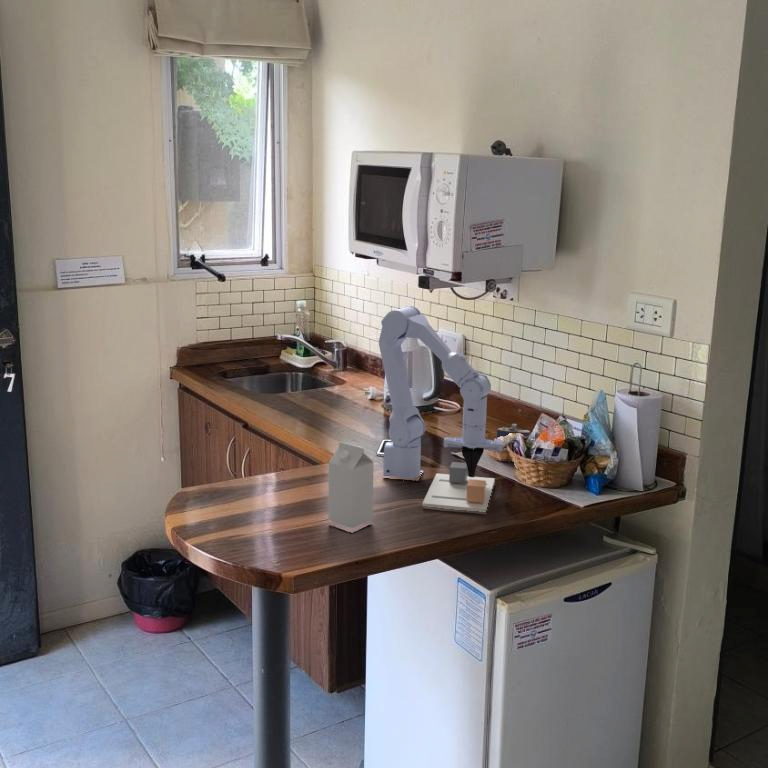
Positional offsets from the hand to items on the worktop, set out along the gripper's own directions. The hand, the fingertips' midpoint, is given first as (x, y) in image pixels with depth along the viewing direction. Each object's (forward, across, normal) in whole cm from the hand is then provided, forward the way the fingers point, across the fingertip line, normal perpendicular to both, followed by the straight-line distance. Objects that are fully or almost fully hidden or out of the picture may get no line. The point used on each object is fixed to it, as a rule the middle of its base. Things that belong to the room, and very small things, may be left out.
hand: (471, 475), depth 231 cm
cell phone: (+4, -26, +27) cm, 37 cm away
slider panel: (+3, -2, -6) cm, 7 cm away
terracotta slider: (+2, +2, -12) cm, 12 cm away
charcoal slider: (+1, -3, 0) cm, 4 cm away
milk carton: (+4, -24, -31) cm, 39 cm away
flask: (+4, +8, +25) cm, 27 cm away
